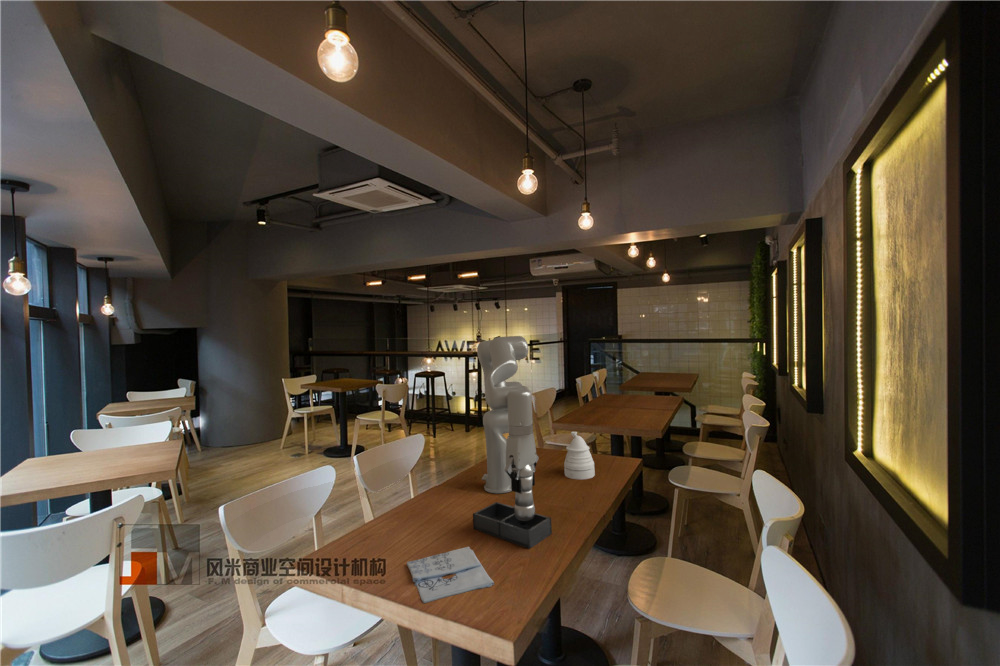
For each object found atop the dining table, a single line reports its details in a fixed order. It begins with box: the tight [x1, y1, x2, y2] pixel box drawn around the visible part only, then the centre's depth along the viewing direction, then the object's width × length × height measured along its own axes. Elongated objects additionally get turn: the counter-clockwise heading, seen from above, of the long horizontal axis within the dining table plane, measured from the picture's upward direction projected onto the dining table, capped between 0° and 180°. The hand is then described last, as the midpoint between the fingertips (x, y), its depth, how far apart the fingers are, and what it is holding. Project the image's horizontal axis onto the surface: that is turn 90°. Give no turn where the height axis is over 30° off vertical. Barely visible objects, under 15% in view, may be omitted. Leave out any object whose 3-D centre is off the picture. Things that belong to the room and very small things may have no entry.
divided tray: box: [472, 501, 553, 550], centre depth 139 cm, size 22×12×5 cm, turn 50°
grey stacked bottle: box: [513, 465, 536, 521], centre depth 135 cm, size 6×7×20 cm
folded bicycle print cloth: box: [406, 546, 495, 604], centre depth 116 cm, size 19×20×2 cm
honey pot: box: [563, 431, 596, 480], centre depth 190 cm, size 13×13×18 cm
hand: (523, 487), depth 135 cm, fingers closed on grey stacked bottle, 6 cm apart
